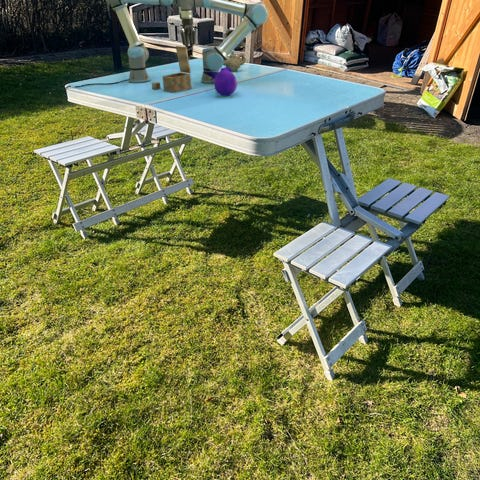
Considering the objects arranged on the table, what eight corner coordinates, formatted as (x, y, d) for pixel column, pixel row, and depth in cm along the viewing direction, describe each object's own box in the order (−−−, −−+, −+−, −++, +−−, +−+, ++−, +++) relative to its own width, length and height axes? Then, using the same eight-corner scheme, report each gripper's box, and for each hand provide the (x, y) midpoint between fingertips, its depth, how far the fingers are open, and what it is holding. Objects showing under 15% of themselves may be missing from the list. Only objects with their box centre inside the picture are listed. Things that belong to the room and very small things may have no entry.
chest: (173, 92, 303) (171, 77, 298) (163, 90, 309) (162, 75, 304) (191, 88, 313) (190, 74, 308) (182, 86, 319) (180, 72, 314)
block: (155, 89, 312) (155, 83, 310) (152, 88, 315) (151, 82, 313) (160, 88, 315) (160, 82, 313) (157, 87, 317) (156, 81, 315)
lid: (185, 47, 297) (194, 44, 302) (175, 46, 304) (184, 43, 308) (189, 73, 307) (198, 70, 312) (180, 71, 313) (189, 68, 318)
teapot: (225, 73, 359) (225, 53, 352) (218, 71, 368) (218, 51, 360) (248, 70, 368) (248, 50, 361) (241, 68, 377) (241, 49, 369)
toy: (224, 88, 311) (237, 101, 290) (200, 83, 303) (211, 96, 283) (230, 64, 302) (243, 76, 282) (205, 59, 295) (217, 71, 274)
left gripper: (189, 14, 318) (191, 46, 328) (190, 11, 339) (192, 42, 350) (178, 14, 317) (180, 46, 328) (180, 12, 339) (182, 42, 350)
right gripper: (182, 18, 290) (185, 57, 302) (199, 17, 299) (201, 55, 311) (174, 18, 294) (178, 56, 306) (191, 16, 303) (194, 54, 315)
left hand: (186, 44), depth 339 cm, fingers open, 13 cm apart
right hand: (189, 55), depth 308 cm, fingers closed on lid, 2 cm apart
